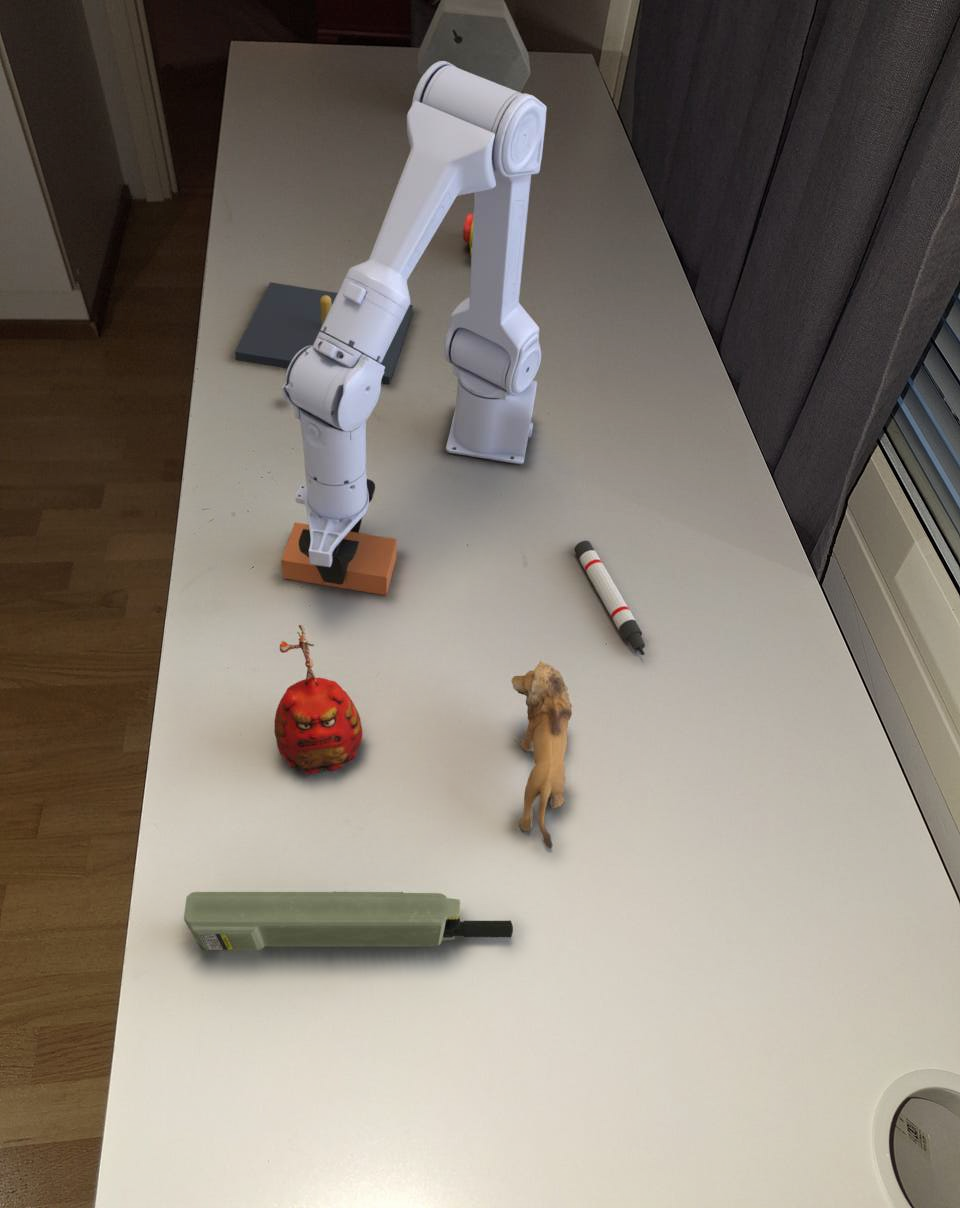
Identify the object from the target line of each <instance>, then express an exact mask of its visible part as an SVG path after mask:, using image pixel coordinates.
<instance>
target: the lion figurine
mask: <svg viewBox="0 0 960 1208" xmlns="http://www.w3.org/2000/svg"><path fill="white" fill-rule="evenodd" d="M510 683H511V684H512V688H513V689H514V690H515V691H516V692H517V693H518V694H520V695H522V696H525V697H526V698H525V705H526V706H527V709H526V715H527V720H528V724H527V728H526V730H525V731H526V732H525V738H523V739H521V742H519V746H520V747H521V748H522V749H523V750H524V751H525V752H533V761H534V764H535V765H534V766H533V767H532V769H531V771H530V773H529V776H528V778H527V782H526V786H525V788H524V796H523V815H522V817H521V819H520V820H519V821H518V822H519V823H518V824H519V828H520V829H521V830H522V831H531V829H532V826H533V817H534V816H533V807H534V804H535V802H536V800H537V798H538V797H539V804H538V811H537V812H538V813H537V823H538V828H539V830H540V831H539V832H540V833H541V835H542V841H543V842H542V843H544V845H545V847H546V848H547V849H552V848H553V847H554V845H553V841H552V837H551V834H550V832H548V830H547V827H546V824H545V813H546V808H547V804H548V800H549V798H550V801H549V803H550V806H551V808H553V809H556V808H560V807H561V806H563V804H564V802H565V797H564V795H563V793H564V791H565V785H566V772H565V771H566V770H565V769H566V768H565V763H564V762H565V757H566V752H567V751H566V750H567V747H568V732H567V730H568V726H569V721H570V720H571V718H572V714H573V712H572V707H573V705H572V704H573V703H572V702H571V701H570V696H569V695H570V693H568V689H569V688H568V686H567V685H566V683H565V681H564V678H563V676H562V675H561V671H560V670H558V669H556V668H555V667H554V666H552V665H551V664H548V663H545V662H544V661H543V660H539V663H538V664H537V666H536V667H535V668H534V669H533V670H528V671H527V672H526V673H525V675H514V676H513V677H512V678H511V682H510Z"/></svg>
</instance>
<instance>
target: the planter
mask: <svg viewBox="0 0 960 1208" xmlns="http://www.w3.org/2000/svg"><path fill="white" fill-rule="evenodd" d="M437 6H438V7H437V8H436V11H435V13H434V15H433V18H432V19H431V22H430V24H429V26H428V29H427V31H426V33H425V34H424V38H423V39H422V43H421V45H420V47H419V49H418V51H417V67H416V68H417V69H416V71H417V74H418V75H419V77H420V78H421V77H422V76H423V75H424V73H425V72H426V71H427V70H428V69H429V68H430V67H431V66H432V65H433V64H435V63H436V62H439V61H446V62H448V63H451V64H453V65H454V66H456V67H457V68H459V69H461V70H464V71H466V72H469V73H471V74H474V75H477V76H479V77H482V78H484V79H487V80H489V81H492V82H494V83H497V84H499V85H502V86H504V87H507V88H510V89H512V90H515V91H517V92H520V93H522V91H523V89H524V88H525V85H526V83H527V82H528V80H529V78H530V76H531V74H532V72H531V65H530V63H531V62H530V56H529V52H528V50H527V48H526V46H525V44H524V43H525V42H524V41H523V39H522V36H521V35H520V33H519V30H518V28H517V26H516V24H515V21H514V19H513V17H512V15H511V13H510V11H509V9H508V5H507V3H506V1H505V0H440V2H439V3H438V5H437ZM454 32H455V33H456V35H457V37H461V41H460V42H456V41H455V39H456V36H455V33H454Z"/></svg>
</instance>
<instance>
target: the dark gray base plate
mask: <svg viewBox="0 0 960 1208" xmlns="http://www.w3.org/2000/svg"><path fill="white" fill-rule="evenodd" d="M337 294H338V292H334V291H327V290H321V289H314V288H309V287H302V286H295V285H290V284H283V283H279V282H269V284H268V286H267V287H266V290H265V292H264V294H263V296H262V297H261V300H260V302H259V303H258V305H257V307H256V309H255V311H254V313H253V315H252V317H251V320H250V321H249V323H248V325H247V327H246V329H245V331H244V333H243V334H242V337H241V339H240V341H239V343H238V345H237V347H236V349H235V351H234V355H235V356H234V357H235V360H238V361H243V362H250V363H256V364H262V365H268V366H275V367H281V368H285V369H288V367H289V365H290V363H291V361H292V359H293V358H294V356H295V355H296V354H297V353H298V352H299V351H300V350H301V349H303V348H304V347H307V346H313V344H314V342H315V340H316V338H317V336H318V334H319V332H322V331H320V329H321V327H322V325H323V323H324V321H325V319H326V317H327V315H328V313H329V310H330V308H331V306H332V304H333V302H334V300H335V298H336V296H337ZM413 307H414V305H413V304H410V305H409V307H408V309H407V311H406V314H405V316H404V318H403V320H402V322H401V324H400V326H399V328H398V330H397V332H396V334H395V336H394V338H393V340H392V342H391V344H390V346H389V348H388V350H387V352H386V354H385V356H384V358H383V360H382V362H381V363H380V364H381V365H383V366H385V369H384V374H383V376H382V380H381V384H385V385H390V384H391V382H392V381H391V380H392V378H393V375H394V372H395V369H396V365H397V363H398V359H399V356H400V353H401V350H402V346H403V343H404V340H405V337H406V334H407V330H408V327H409V324H410V322H411V319H412V315H413V309H414V308H413ZM322 333H324V332H322ZM324 334H325V333H324ZM326 335H327V334H326ZM328 336H329V335H328ZM330 337H331V336H330ZM374 361H375V360H374ZM376 362H377V361H376ZM378 363H379V362H378Z"/></svg>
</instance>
